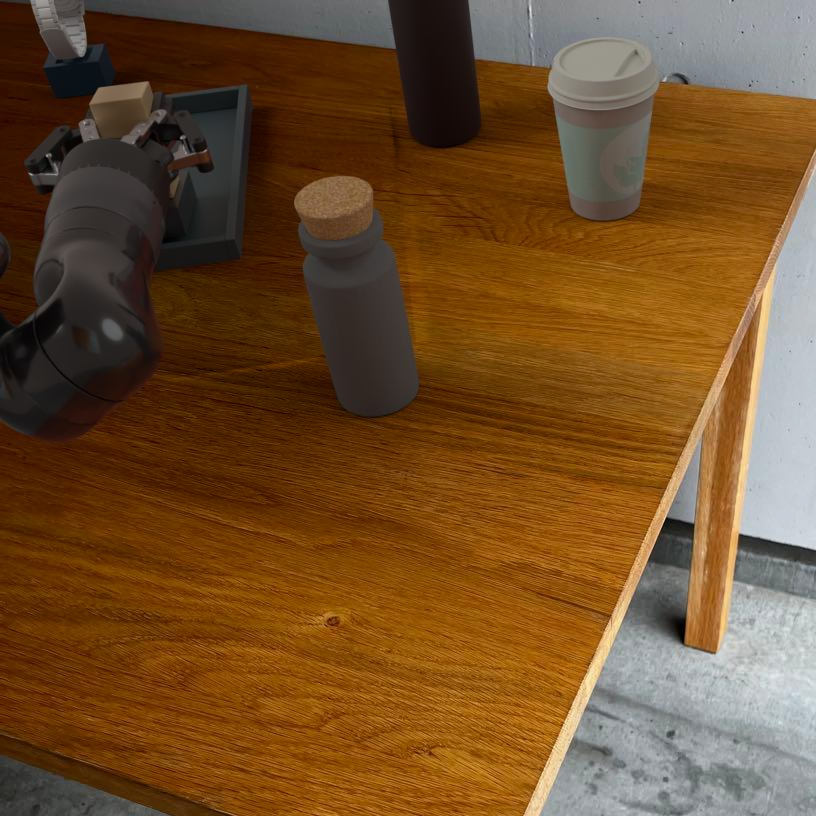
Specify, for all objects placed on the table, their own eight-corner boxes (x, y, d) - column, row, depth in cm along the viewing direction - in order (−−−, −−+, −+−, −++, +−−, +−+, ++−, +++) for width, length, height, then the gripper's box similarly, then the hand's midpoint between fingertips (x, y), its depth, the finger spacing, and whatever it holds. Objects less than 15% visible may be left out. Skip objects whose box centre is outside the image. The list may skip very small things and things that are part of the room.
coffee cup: (596, 243, 84) (593, 96, 75) (534, 200, 89) (523, 57, 80) (678, 204, 87) (684, 58, 78) (613, 165, 92) (611, 23, 83)
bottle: (406, 354, 76) (367, 161, 65) (430, 402, 72) (393, 206, 61) (328, 377, 75) (274, 184, 64) (348, 427, 71) (295, 232, 60)
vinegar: (497, 126, 98) (473, -116, 83) (444, 156, 95) (409, -91, 80) (447, 106, 101) (416, -131, 86) (394, 134, 98) (353, -107, 83)
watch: (118, 65, 112) (77, -47, 104) (107, 99, 107) (63, -15, 98) (65, 71, 112) (20, -40, 104) (51, 106, 106) (3, -8, 98)
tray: (73, 288, 84) (61, 262, 83) (114, 126, 103) (105, 102, 101) (242, 264, 85) (234, 238, 83) (254, 108, 103) (247, 83, 102)
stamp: (124, 244, 85) (76, 113, 78) (139, 204, 91) (96, 80, 84) (186, 235, 85) (144, 104, 79) (196, 197, 92) (158, 72, 85)
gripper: (193, 154, 71) (208, 48, 83) (-20, 183, 71) (25, 72, 82) (224, 250, 77) (235, 138, 89) (28, 277, 76) (64, 161, 88)
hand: (134, 107), depth 85 cm, fingers closed on stamp, 4 cm apart
